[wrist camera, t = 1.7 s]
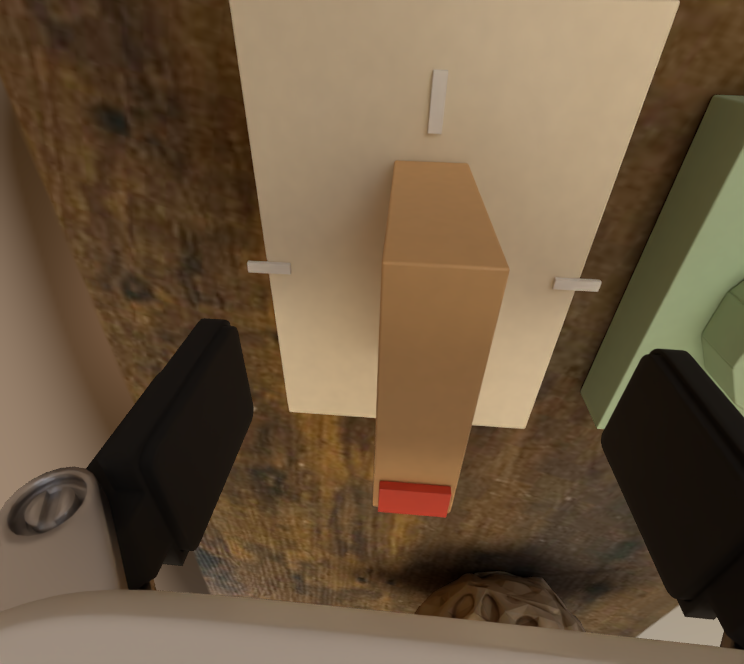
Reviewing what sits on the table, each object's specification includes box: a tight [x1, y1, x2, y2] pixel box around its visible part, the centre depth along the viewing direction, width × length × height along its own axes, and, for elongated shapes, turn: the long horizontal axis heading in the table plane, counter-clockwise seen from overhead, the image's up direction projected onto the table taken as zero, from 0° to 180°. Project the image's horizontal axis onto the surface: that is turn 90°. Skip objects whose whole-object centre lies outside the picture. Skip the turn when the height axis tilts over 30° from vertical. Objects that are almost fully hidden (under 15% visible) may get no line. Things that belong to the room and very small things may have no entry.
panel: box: [229, 0, 680, 429], centre depth 14 cm, size 14×11×3 cm
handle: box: [373, 160, 510, 517], centre depth 11 cm, size 7×2×6 cm, turn 179°
